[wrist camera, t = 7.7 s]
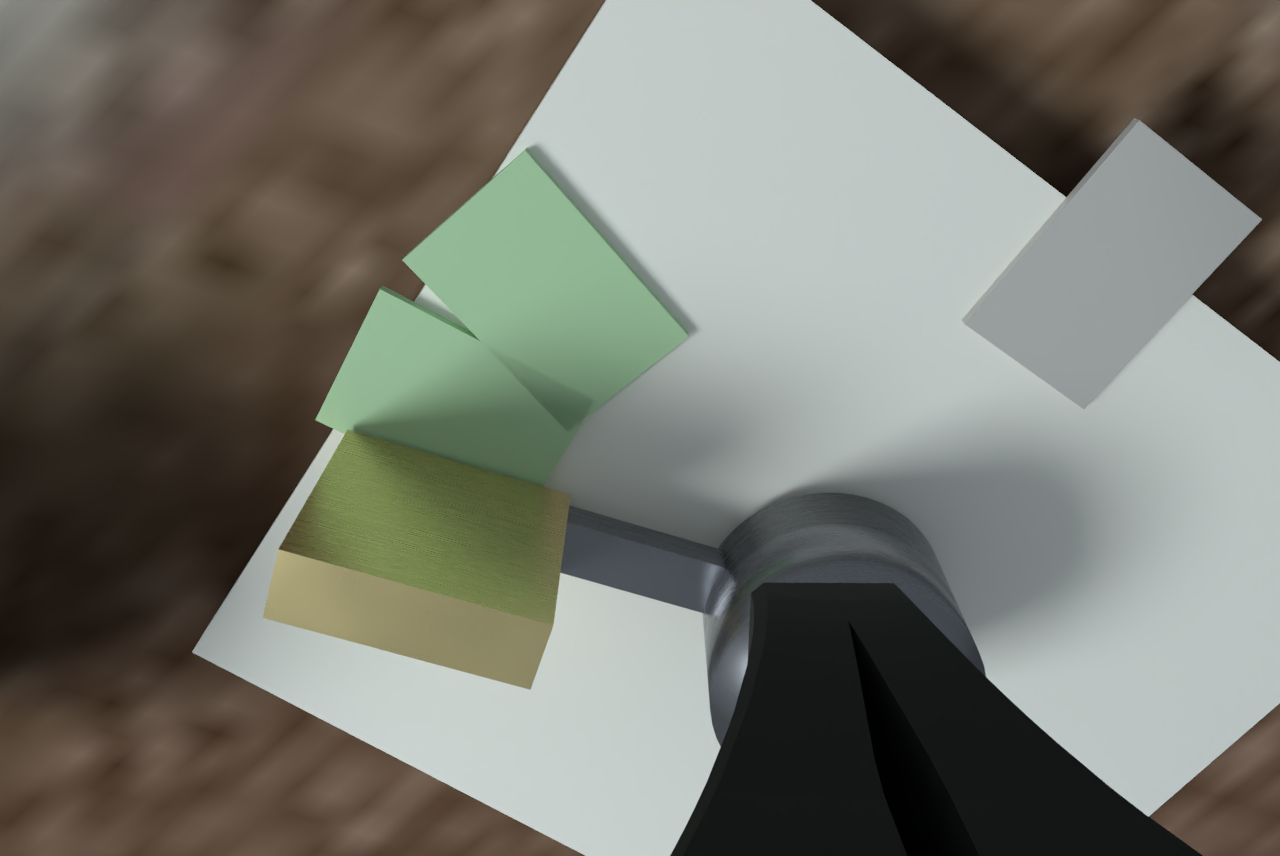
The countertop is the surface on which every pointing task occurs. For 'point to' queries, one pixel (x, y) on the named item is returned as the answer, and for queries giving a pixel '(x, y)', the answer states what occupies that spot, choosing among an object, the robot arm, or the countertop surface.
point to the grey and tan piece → (558, 564)
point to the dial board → (814, 412)
